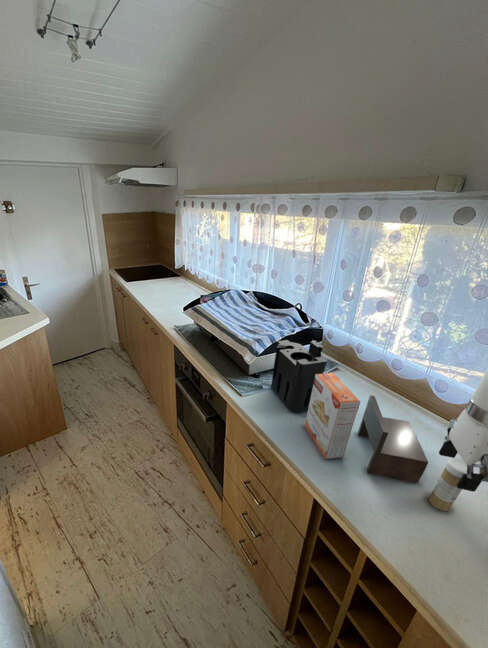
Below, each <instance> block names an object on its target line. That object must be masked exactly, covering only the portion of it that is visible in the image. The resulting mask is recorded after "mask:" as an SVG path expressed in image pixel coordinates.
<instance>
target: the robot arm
mask: <svg viewBox="0 0 488 648" xmlns="http://www.w3.org/2000/svg"><path fill="white" fill-rule="evenodd" d="M446 431H447V435H445V436H444V440H445V441H444V442H443V443H442V446H441V448H440V449H439V451H438V454H439V456H443V457H446V458H456V457H457V455H459V457H460V458H461V460H463V461H464V462H465V463H466V464H467V474H463V476H462V477H461V479H460V480H459V482H458V483H457V487H458V488H459V489H462V490H463V491H469V492H476V491H477V490H478V488H479V486H480V485H481V483H483V482H485V483H488V368H486V370H485V372H484V374H483V375H482V377H481V379H480V381H479V383H478V384H477V386H476V388H475V390H474V392H473V394H472V395H471V397H470V399H469V401H468V403H467V404H466V406H465V408H464V409H463V410H462V411H461V412H460V414H459V415H458V417H457V418H456V419H453V418H451V419H450V420H449V425H448V427H447V430H446ZM478 463H479V464H478ZM474 467H475V468H479V470H478V471H479V472H478V473H475V472H474V471H475V470H474V469H475V468H474Z"/></svg>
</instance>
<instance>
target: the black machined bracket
mask: <svg viewBox="0 0 488 648" xmlns="http://www.w3.org/2000/svg"><path fill="white" fill-rule="evenodd" d="M323 349H324V346H323V345H322V344H318V341H317V340H313V339H312V341H310V342H309V347H308V349H307V348H306V347H305V346H304V345H302V344H300V343H297V342H292V341H289V339H285V340H277V343H276V350H275V357H274V364H273V370H272V378H271V385H270V388H271V390H272V391H273V393H274V394H275V395H276V396H277V397H278V399H279V400H280V401H281V402H282V403H283V405H284V406H285V407H286V409H288V410H289V411H291V412H292V413H304V412H308V408H309V403H310V399H311V394H312V389H313V384H314V380H315V375H316V374H324V373H325V370H326V366H327V363H328V361H329V359H327V358H326V357H325V356H322V352H323Z"/></svg>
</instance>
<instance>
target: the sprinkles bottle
mask: <svg viewBox="0 0 488 648" xmlns="http://www.w3.org/2000/svg"><path fill="white" fill-rule="evenodd" d="M463 474H467V464H466V463H465V462H464V461H463V459H462V458H461V459H460V458H456V457H455V458H452V457H450V458H449V459H448V460H447V461H446V463H445V466H444V469H443V470H442V473H441V474H440V476H439V477H438V479H437V481H436V483H435V484H434V486H433V488H432V490H431V493H430V494H429V495H428V501H429V503H430V504H431V505H432V506H433V507H434V508H435V509H438V510H440V511H443V512H447V511H450V510H451V509H452V506H453V504H454V503H455V502H456V500H457V499H458V497H459V496H460V494H461V492H462V490H463V489H459V488H458V487H457V483H458V482H459V480H460V479H461V477H462V476H463Z"/></svg>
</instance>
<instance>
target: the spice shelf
mask: <svg viewBox="0 0 488 648" xmlns="http://www.w3.org/2000/svg"><path fill="white" fill-rule="evenodd" d="M362 415H363V416H362V419H361V421H360V425H359V427H358V431H357V436H358V437H360V438H367V439H369V442H370V445H371V449H372V455H371V456H370V460H369V462H368V465H367V468H366V473H367V474H370V475H375V476H380V477H384V478H390V479H392V480H393V479H394V480H399V481H403V482H409V483H411V484H412V483H413V484H419V482H420V481H421V479H422V477H423V475H424V473H425V471H426V469H427V467H428V465H429V460H428V458H427V456H426V454H425V451H424V449H423V448H422V445H421V443H420V441H419V440H418V437H417V435H416V433H415V431H414V429H413V427H412V425H411V423H410V421H409V420H404V419H398V418H390V417H386V416H383V414H382V412H381V410H380V407H379V404H378V401H377V399H376V396H375V395H369V397H368V401H367V404H366V407H365V409H364V412H363V414H362Z"/></svg>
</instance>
